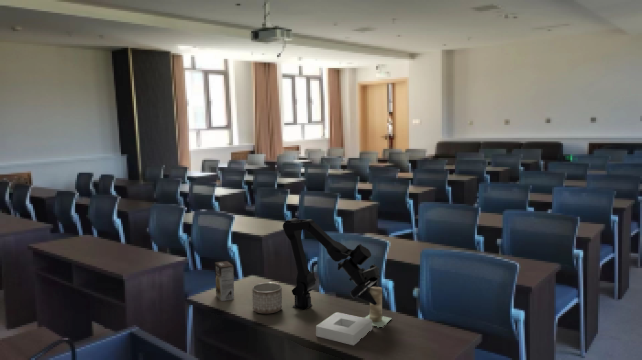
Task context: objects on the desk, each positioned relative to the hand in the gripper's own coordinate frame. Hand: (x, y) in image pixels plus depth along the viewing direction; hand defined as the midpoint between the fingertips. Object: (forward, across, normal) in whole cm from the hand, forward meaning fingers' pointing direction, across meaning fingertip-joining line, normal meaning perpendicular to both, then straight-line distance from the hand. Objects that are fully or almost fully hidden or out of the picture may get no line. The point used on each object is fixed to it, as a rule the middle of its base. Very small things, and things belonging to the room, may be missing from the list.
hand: (379, 301), depth 198 cm
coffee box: (-46, -6, +59) cm, 75 cm away
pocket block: (0, -16, +12) cm, 20 cm away
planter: (-28, -10, +40) cm, 50 cm away
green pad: (+5, 0, +7) cm, 9 cm away
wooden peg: (+4, 0, +6) cm, 8 cm away
